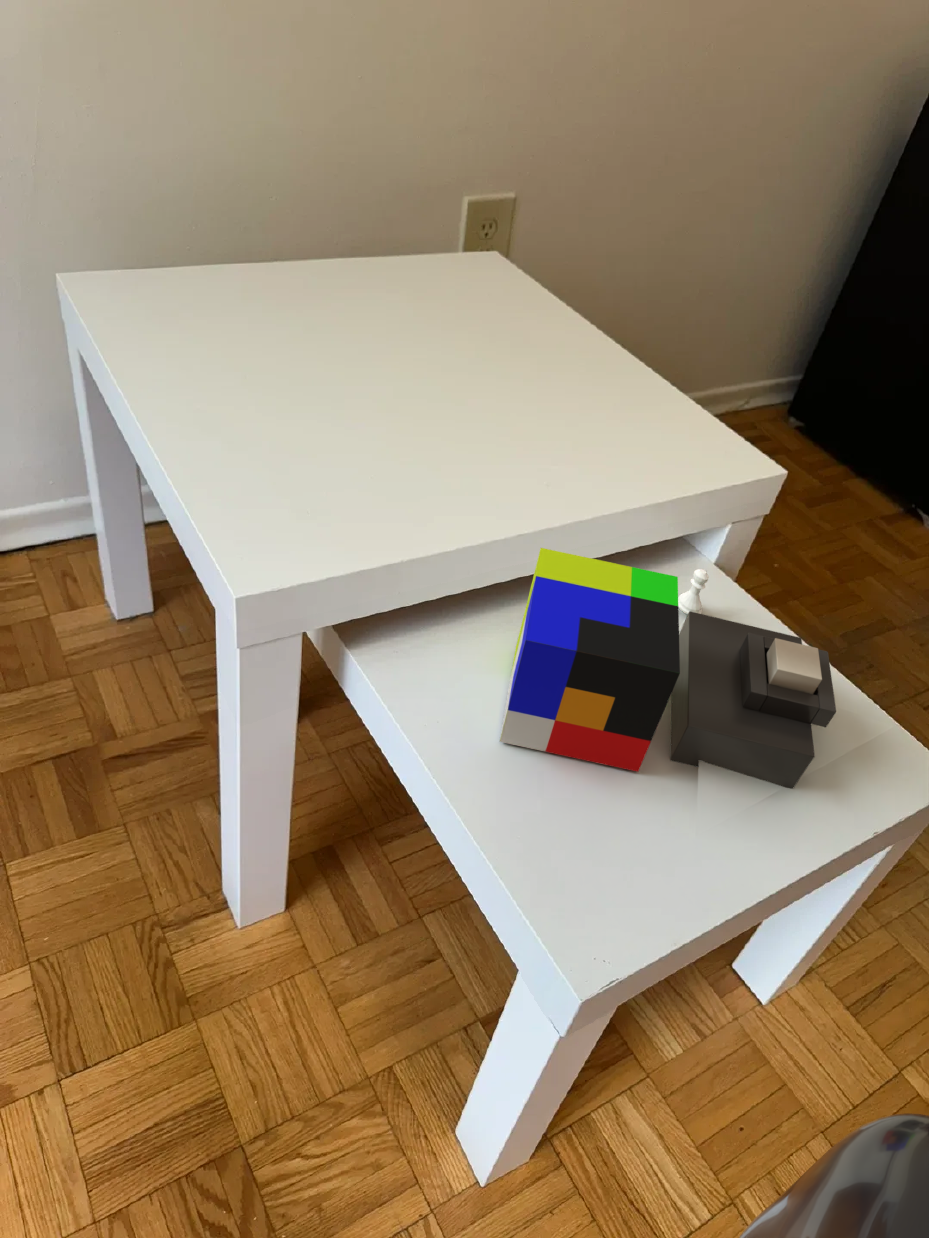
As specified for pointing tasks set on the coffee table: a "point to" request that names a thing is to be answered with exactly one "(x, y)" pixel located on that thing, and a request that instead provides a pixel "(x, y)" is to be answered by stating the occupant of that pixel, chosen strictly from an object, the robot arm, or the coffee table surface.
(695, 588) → the chess pawn
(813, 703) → the dark grey block
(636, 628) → the puzzle toy
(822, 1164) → the robot arm
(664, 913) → the coffee table surface
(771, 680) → the beige push button
